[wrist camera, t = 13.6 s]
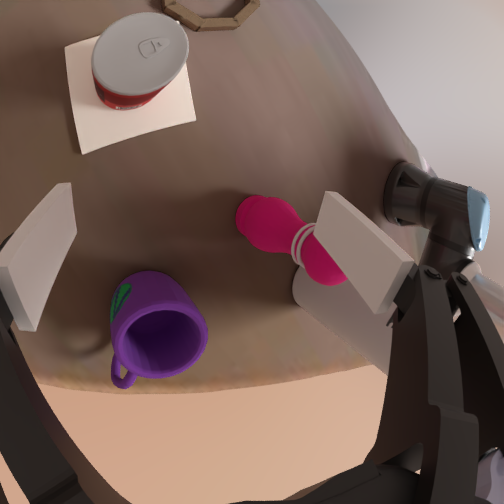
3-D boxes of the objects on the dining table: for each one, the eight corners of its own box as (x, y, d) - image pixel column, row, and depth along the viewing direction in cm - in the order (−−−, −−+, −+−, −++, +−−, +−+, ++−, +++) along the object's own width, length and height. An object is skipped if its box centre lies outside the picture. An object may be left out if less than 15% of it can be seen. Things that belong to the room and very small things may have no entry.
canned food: (175, 80, 27) (208, 54, 18) (123, 125, 26) (130, 115, 17) (136, 38, 22) (154, -4, 13) (82, 83, 21) (72, 53, 13)
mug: (135, 247, 33) (147, 283, 25) (199, 286, 40) (227, 325, 32) (77, 342, 33) (79, 393, 25) (139, 367, 40) (154, 414, 32)
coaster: (176, 23, 24) (178, 20, 23) (193, 121, 31) (196, 120, 30) (65, 49, 19) (64, 46, 18) (83, 154, 26) (82, 154, 25)
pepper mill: (223, 207, 37) (327, 266, 21) (266, 182, 39) (381, 221, 23) (242, 248, 41) (339, 321, 25) (280, 223, 43) (385, 277, 27)
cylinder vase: (338, 236, 51) (454, 293, 31) (339, 287, 57) (434, 349, 37) (286, 263, 46) (408, 346, 27) (293, 316, 53) (389, 397, 33)
